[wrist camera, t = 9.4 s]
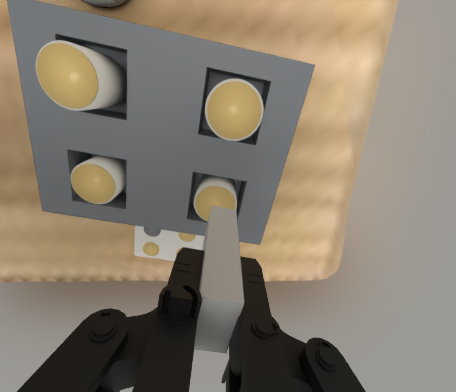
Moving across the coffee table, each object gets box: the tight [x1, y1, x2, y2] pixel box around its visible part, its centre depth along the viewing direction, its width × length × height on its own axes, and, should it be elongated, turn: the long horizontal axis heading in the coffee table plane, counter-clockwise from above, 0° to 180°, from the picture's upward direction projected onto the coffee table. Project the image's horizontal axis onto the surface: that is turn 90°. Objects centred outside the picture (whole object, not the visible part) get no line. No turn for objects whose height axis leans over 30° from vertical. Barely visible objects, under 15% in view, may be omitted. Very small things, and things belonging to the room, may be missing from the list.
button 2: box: [36, 40, 127, 111], centre depth 19 cm, size 5×5×5 cm
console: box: [7, 0, 315, 245], centre depth 25 cm, size 26×20×5 cm
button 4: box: [205, 79, 264, 141], centre depth 21 cm, size 5×5×5 cm
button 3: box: [194, 174, 237, 221], centre depth 27 cm, size 5×5×5 cm
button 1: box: [71, 155, 127, 204], centre depth 26 cm, size 5×5×5 cm
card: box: [134, 226, 204, 261], centre depth 33 cm, size 10×7×1 cm
